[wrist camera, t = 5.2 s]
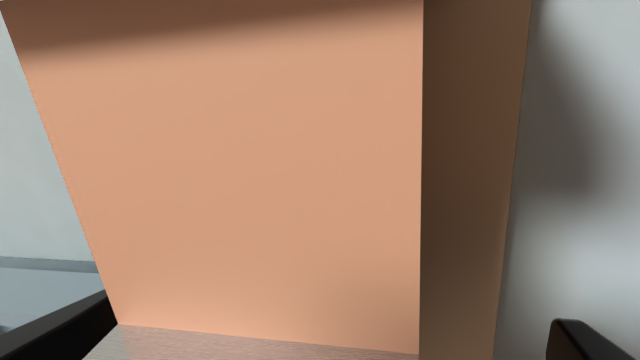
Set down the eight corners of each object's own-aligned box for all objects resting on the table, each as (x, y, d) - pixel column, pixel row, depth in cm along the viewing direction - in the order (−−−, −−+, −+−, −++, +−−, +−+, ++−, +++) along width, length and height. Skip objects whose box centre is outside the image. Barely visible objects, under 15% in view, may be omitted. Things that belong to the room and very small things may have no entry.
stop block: (239, 202, 8) (118, 323, 5) (206, 24, 7) (-4, 1, 3) (408, 203, 7) (418, 354, 4) (408, -1, 6) (424, -72, 2)
